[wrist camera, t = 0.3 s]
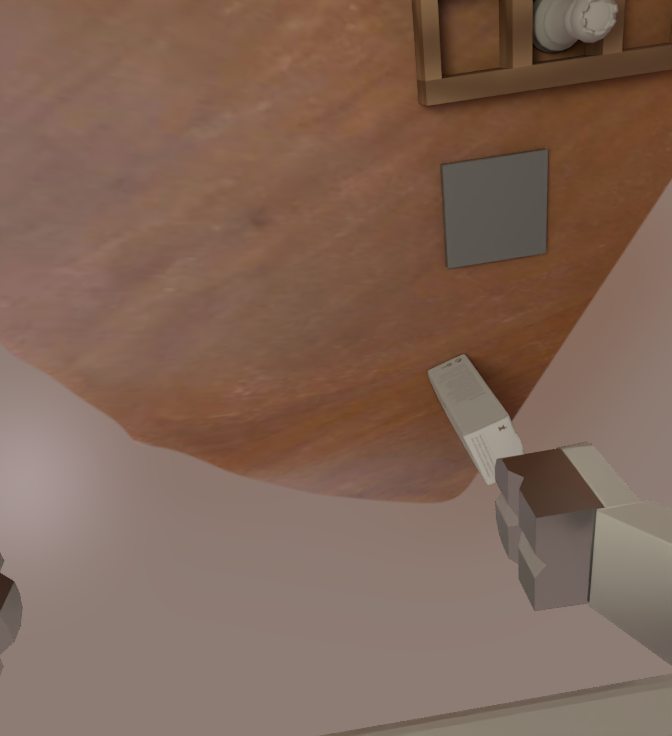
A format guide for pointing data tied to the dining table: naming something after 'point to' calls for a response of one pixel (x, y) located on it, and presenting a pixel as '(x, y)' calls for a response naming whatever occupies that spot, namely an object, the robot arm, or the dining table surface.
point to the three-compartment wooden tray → (525, 58)
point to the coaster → (495, 207)
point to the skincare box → (475, 415)
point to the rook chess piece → (571, 22)
